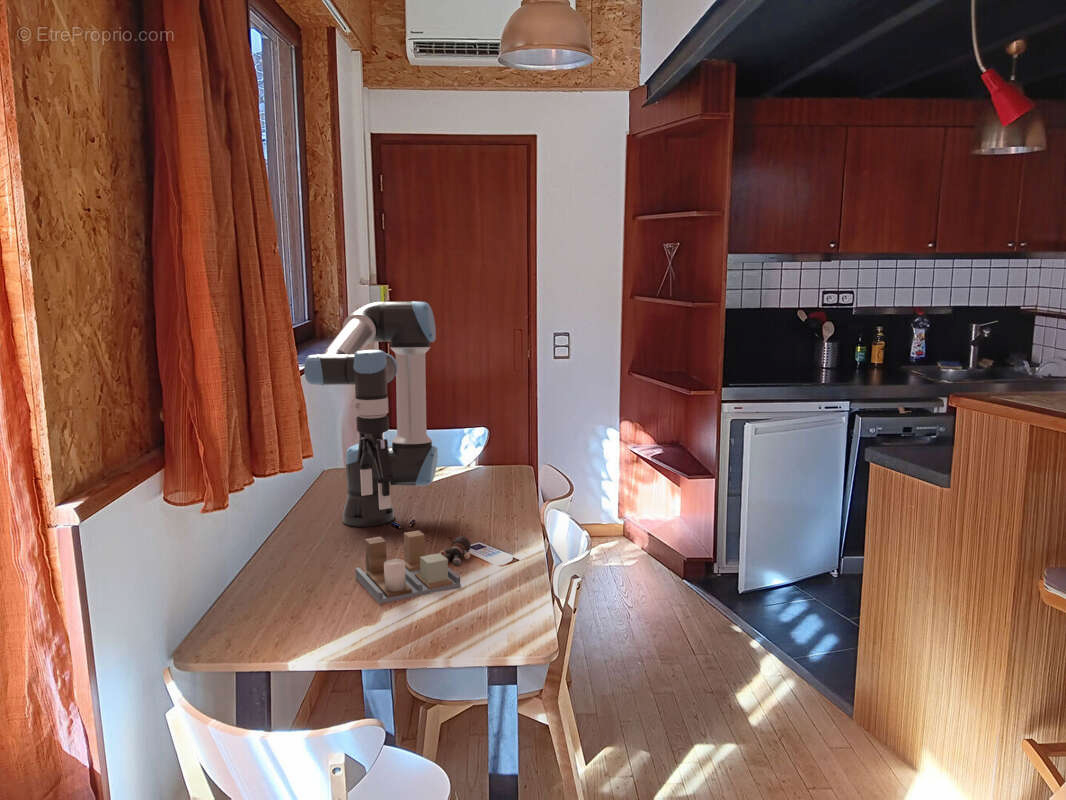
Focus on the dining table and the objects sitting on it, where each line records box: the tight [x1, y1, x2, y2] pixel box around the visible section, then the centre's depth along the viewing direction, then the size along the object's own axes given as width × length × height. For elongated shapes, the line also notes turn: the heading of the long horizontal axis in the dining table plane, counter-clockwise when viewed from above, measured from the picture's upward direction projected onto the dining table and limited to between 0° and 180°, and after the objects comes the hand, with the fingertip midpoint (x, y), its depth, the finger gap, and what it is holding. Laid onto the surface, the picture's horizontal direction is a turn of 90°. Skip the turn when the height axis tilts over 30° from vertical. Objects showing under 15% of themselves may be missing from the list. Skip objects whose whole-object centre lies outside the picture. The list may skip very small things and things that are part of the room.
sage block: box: [420, 552, 449, 584], centre depth 199 cm, size 5×5×5 cm
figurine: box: [439, 536, 472, 566], centre depth 217 cm, size 8×5×10 cm
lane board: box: [354, 529, 462, 605], centre depth 201 cm, size 19×20×9 cm
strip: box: [364, 536, 412, 598], centre depth 199 cm, size 19×6×8 cm, turn 28°
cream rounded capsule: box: [384, 558, 406, 592], centre depth 193 cm, size 5×5×6 cm
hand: (375, 501), depth 203 cm, fingers open, 13 cm apart
